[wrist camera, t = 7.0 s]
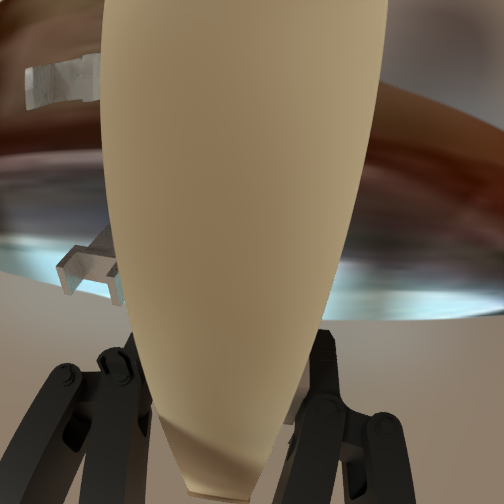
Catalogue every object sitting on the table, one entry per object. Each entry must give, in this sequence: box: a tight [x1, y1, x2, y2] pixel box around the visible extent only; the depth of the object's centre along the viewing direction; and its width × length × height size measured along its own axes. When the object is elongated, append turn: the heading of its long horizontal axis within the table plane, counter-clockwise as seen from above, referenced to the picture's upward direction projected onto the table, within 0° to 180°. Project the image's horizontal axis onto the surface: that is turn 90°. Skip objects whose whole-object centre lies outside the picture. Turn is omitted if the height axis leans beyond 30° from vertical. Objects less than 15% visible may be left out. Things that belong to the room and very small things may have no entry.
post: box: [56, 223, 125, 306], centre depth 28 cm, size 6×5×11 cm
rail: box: [100, 0, 388, 504], centre depth 11 cm, size 4×24×6 cm, turn 175°
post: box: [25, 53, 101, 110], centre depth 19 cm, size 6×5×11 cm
